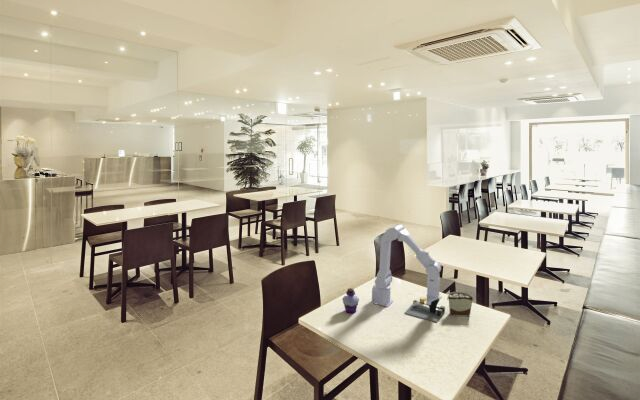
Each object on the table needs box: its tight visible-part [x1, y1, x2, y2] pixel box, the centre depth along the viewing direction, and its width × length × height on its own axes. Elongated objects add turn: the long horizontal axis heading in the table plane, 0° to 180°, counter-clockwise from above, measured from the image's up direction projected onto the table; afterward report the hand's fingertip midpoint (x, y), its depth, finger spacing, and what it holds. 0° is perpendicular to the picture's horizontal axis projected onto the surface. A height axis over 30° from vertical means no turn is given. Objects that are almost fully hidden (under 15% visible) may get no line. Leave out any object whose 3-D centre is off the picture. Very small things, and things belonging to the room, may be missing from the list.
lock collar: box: [419, 296, 427, 304], centre depth 172 cm, size 2×3×2 cm
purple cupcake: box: [341, 287, 360, 315], centre depth 170 cm, size 9×9×12 cm
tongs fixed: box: [415, 299, 446, 314], centre depth 170 cm, size 16×2×3 cm, turn 55°
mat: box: [404, 303, 442, 323], centre depth 167 cm, size 16×12×1 cm
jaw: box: [412, 299, 444, 317], centre depth 168 cm, size 15×3×4 cm, turn 48°
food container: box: [447, 291, 474, 317], centre depth 166 cm, size 12×6×10 cm, turn 84°
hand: (432, 312), depth 164 cm, fingers closed
